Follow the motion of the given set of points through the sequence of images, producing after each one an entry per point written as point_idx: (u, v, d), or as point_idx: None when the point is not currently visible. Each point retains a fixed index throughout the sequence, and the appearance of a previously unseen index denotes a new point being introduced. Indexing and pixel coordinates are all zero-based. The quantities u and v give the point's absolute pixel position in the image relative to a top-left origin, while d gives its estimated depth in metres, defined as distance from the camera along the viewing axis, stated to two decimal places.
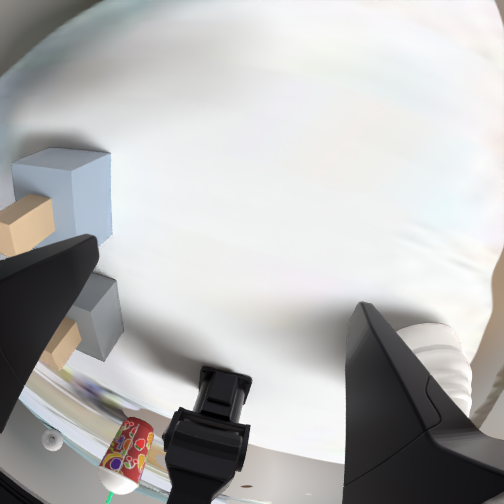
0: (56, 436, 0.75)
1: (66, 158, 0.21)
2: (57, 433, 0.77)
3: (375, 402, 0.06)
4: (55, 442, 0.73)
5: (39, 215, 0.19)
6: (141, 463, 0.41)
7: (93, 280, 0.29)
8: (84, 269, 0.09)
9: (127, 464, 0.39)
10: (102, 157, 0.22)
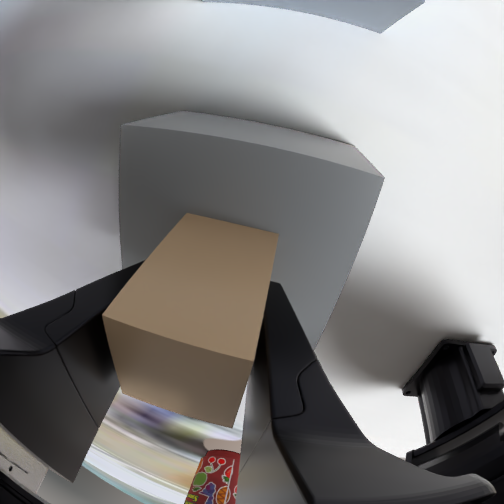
0: None
1: None
2: None
3: (257, 384, 0.06)
4: None
5: None
6: None
7: (303, 135, 0.12)
8: None
9: None
10: None
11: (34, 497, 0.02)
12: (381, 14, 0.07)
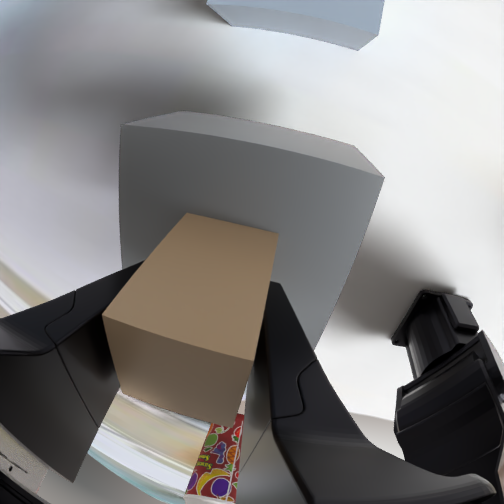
0: None
1: None
2: None
3: (256, 384, 0.06)
4: None
5: None
6: None
7: (303, 135, 0.12)
8: None
9: None
10: None
11: (34, 497, 0.02)
12: (355, 40, 0.12)
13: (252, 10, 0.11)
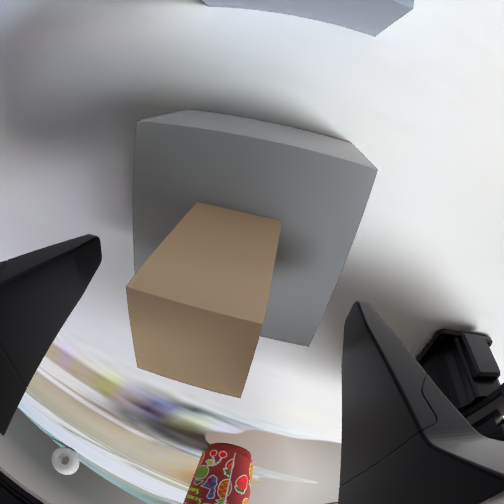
0: (70, 456, 0.58)
1: None
2: (72, 452, 0.60)
3: (371, 402, 0.06)
4: (70, 464, 0.56)
5: None
6: None
7: (304, 132, 0.12)
8: (87, 270, 0.09)
9: None
10: None
11: None
12: (374, 19, 0.08)
13: None
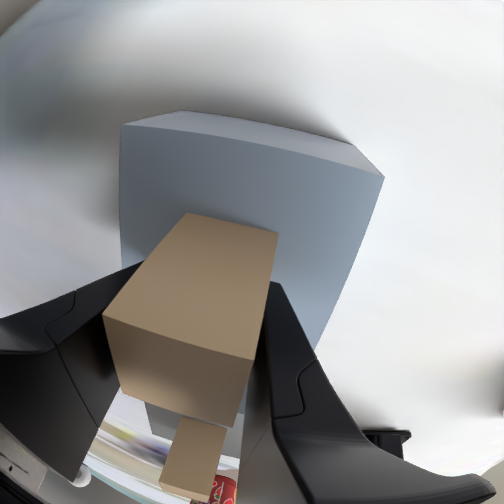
0: (83, 471, 0.65)
1: (289, 137, 0.10)
2: (84, 467, 0.66)
3: (256, 384, 0.06)
4: (83, 478, 0.62)
5: None
6: None
7: None
8: None
9: None
10: (358, 151, 0.11)
11: (34, 497, 0.02)
12: None
13: None
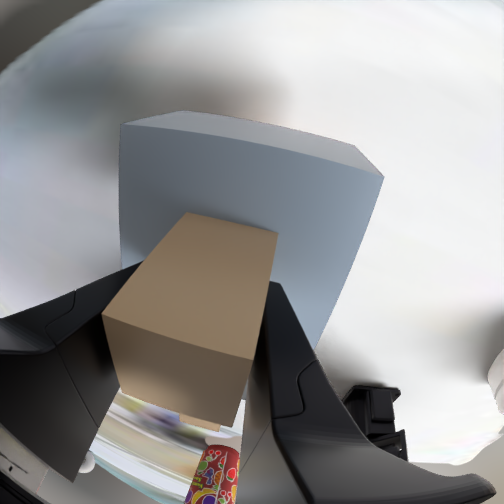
0: (87, 457, 0.70)
1: (288, 136, 0.10)
2: (88, 453, 0.71)
3: (256, 384, 0.06)
4: (87, 463, 0.67)
5: None
6: (234, 495, 0.36)
7: None
8: None
9: (222, 499, 0.34)
10: (358, 151, 0.11)
11: (34, 497, 0.02)
12: None
13: None
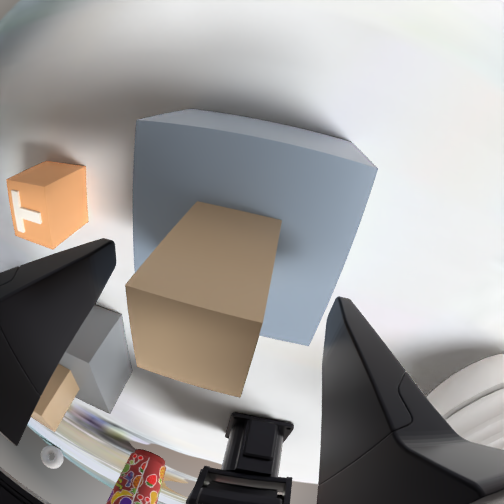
0: (56, 453, 0.67)
1: (290, 133, 0.11)
2: (57, 450, 0.69)
3: (348, 399, 0.06)
4: (55, 460, 0.65)
5: None
6: (153, 500, 0.33)
7: (90, 315, 0.21)
8: (102, 275, 0.09)
9: (139, 503, 0.31)
10: (355, 147, 0.12)
11: None
12: None
13: None
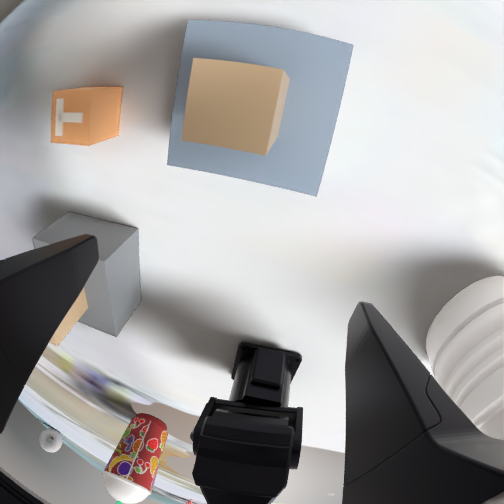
0: (55, 436, 0.69)
1: None
2: (56, 433, 0.71)
3: (375, 402, 0.06)
4: (54, 443, 0.67)
5: (284, 93, 0.11)
6: (154, 467, 0.35)
7: (108, 229, 0.23)
8: (84, 269, 0.09)
9: (138, 468, 0.33)
10: None
11: None
12: None
13: None
